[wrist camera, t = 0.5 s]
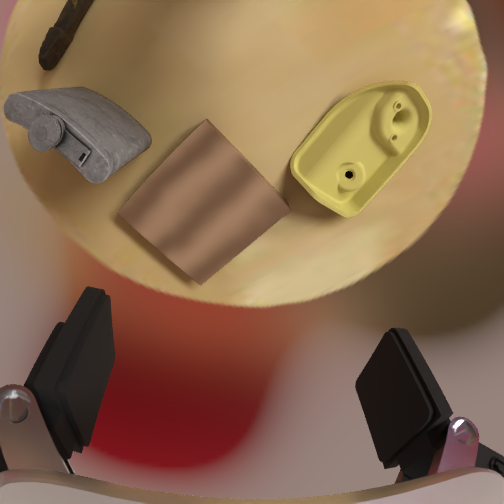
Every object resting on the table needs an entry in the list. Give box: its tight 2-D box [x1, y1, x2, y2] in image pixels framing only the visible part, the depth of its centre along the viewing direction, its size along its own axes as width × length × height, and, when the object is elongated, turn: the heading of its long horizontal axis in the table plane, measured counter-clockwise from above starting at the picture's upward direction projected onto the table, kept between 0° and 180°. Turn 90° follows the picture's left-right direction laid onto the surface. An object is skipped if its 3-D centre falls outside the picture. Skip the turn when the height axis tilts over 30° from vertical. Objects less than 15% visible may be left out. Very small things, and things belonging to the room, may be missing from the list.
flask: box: [4, 87, 152, 184], centre depth 29 cm, size 4×14×18 cm, turn 50°
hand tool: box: [39, 0, 92, 70], centre depth 27 cm, size 19×4×5 cm, turn 147°
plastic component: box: [290, 81, 432, 217], centre depth 39 cm, size 20×7×10 cm
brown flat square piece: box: [117, 119, 291, 286], centre depth 43 cm, size 16×17×3 cm
